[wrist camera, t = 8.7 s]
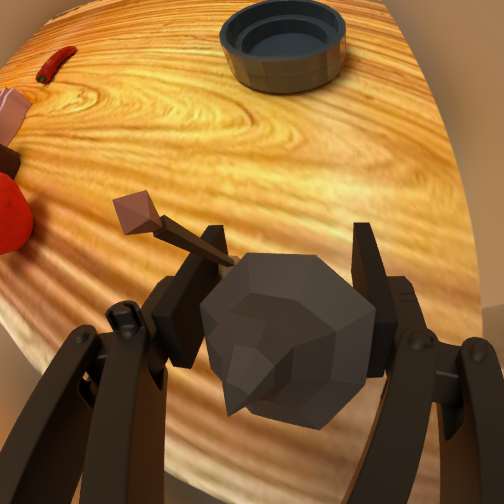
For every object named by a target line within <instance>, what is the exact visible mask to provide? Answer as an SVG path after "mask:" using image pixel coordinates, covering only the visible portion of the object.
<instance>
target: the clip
mask: <svg viewBox="0 0 504 504" xmlns="http://www.w3.org/2000/svg"><path fill="white" fill-rule="evenodd" d="M30 106H31V103H30V102H29V101H28V100H27V99H26V98H24V97H23V96H22V95H21V94H20V93H19V92H18V91H16V90H15V89H14V88H12V89H11V90H9V89H8V88H7V87H5V88H4V89H3V90H2V92H1V94H0V144H2V145H4V146H7V145H8V144H9V143H10V141H11V140H12V139H13V137H14V136H15V134H16V133H17V131H18V130H19V128H20V126H21V124H22V122H23V120H24V117H25V114H26V111H27V109H28V108H30Z"/></svg>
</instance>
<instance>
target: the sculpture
mask: <svg viewBox="0 0 504 504" xmlns="http://www.w3.org/2000/svg"><path fill="white" fill-rule="evenodd" d="M19 164H20V161H19V154H18V152H15V151H13V150H11V149H9V148H7V147H6V146H4V145H2V144H0V172H1V173H4V174H6V175H8V176H9V177H10V178H11V179H13V177H14V175H15V174H16V172H17V170H18V167H19Z"/></svg>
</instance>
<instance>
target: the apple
mask: <svg viewBox="0 0 504 504" xmlns="http://www.w3.org/2000/svg"><path fill="white" fill-rule="evenodd" d="M32 230H33V217H32V214H31V211H30V208H29V206H28V203H27V201H26V199H25V197H24V196H23V194H22V192H21V191H20V189H19V187H18V186H17V184H16V183H15V182H14V181H13V180H12V179H11V178H10V177H9V176H8V175H6V174H4V173H1V172H0V255H2V254H6V253H9V252H12V251H14V250H17V249H19V248H20V247H22V246H23V245H25V243H26V242H27V241H28V239H29V237H30V235H31V233H32Z"/></svg>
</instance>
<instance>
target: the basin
mask: <svg viewBox="0 0 504 504" xmlns="http://www.w3.org/2000/svg"><path fill="white" fill-rule="evenodd" d="M219 36H220V43H221V46H222V48H223V51H224V53H225V56H226V58H227V61H228V64H229V66H230V69H231V71H232V73H233V74H234V75H235V77H236V78H237V79H238V80H239V81H240V82H241V83H243V84H245V85H247V86H249V87H250V88H253V89H257V90H261V91H265V92H270V93H294V92H299V91H305V90H310V89H313V88H316V87H318V86H320V85H323V84H325V83H327V82H329V81H331V80H332V79H333V78H334V77H336V76H337V75H338V74H339V73H340V72H341V70H342V68H343V66H344V64H345V63H346V25H345V21H344V19H343V18H342V17H341V15H340V14H339V13H338V12H337V11H335V10H334V9H332V8H331V7H329V6H327V5H325V4H322V3H319V2H316V1H313V0H267V1H262V2H259V3H256V4H253V5H251V6H248V7H245V8H244V9H242V10H240V11H238V12H237V13H235V14H233V15H232V16H231V17H230V18H229V19H228V20H227V21H226V22H225V23H224V24H223V26H222V29H221V31H220V33H219Z"/></svg>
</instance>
